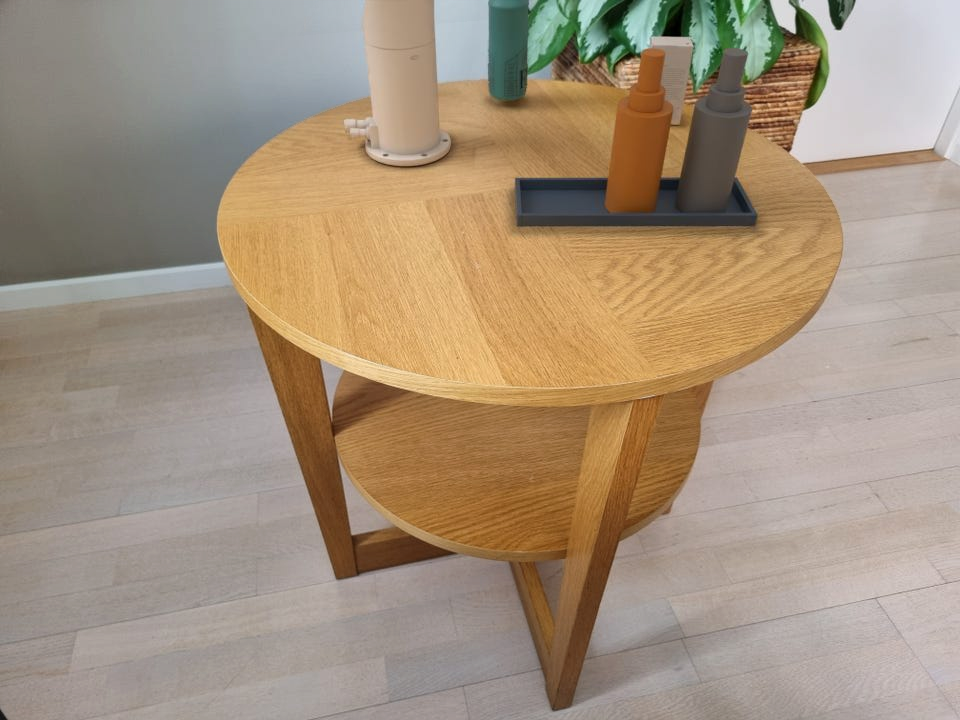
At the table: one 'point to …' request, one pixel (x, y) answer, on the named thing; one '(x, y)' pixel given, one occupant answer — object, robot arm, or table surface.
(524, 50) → the beverage bottle
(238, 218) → the table surface
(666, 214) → the tray
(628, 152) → the amber bottle
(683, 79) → the cosmetic box
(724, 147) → the grey bottle
